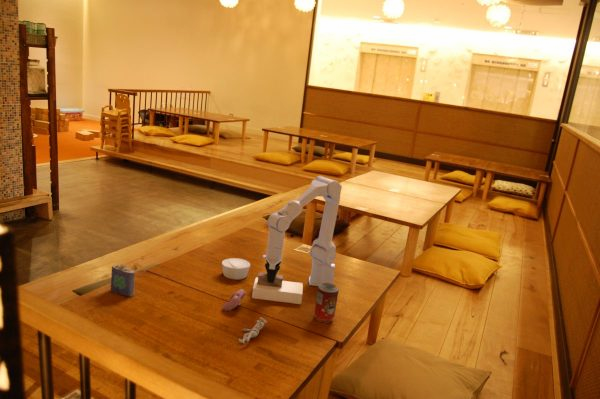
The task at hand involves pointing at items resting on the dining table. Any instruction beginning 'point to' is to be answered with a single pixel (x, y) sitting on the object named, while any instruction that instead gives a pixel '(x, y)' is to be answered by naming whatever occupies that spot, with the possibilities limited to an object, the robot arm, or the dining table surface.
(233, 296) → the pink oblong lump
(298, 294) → the white rectangular box
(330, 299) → the soda can
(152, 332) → the dining table surface
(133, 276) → the flask
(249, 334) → the soldier figure
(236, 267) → the ramekin
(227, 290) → the dining table surface
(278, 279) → the rail end
